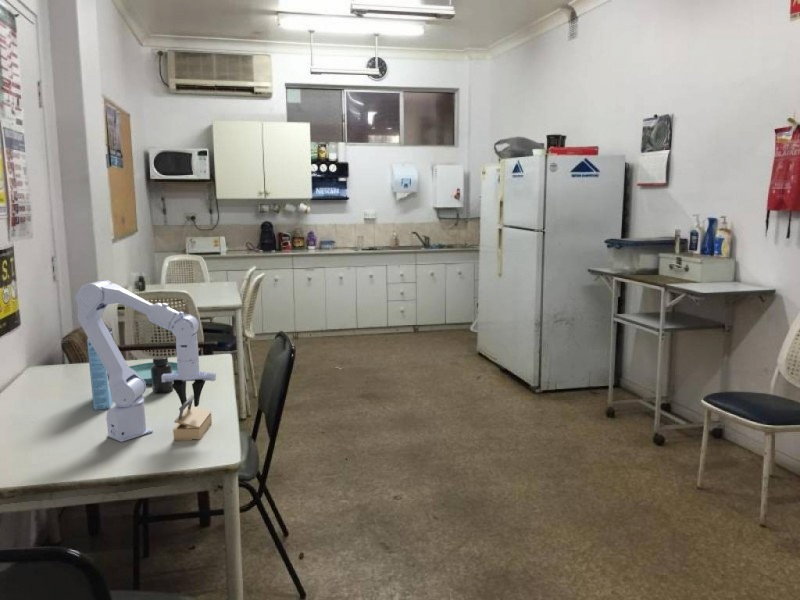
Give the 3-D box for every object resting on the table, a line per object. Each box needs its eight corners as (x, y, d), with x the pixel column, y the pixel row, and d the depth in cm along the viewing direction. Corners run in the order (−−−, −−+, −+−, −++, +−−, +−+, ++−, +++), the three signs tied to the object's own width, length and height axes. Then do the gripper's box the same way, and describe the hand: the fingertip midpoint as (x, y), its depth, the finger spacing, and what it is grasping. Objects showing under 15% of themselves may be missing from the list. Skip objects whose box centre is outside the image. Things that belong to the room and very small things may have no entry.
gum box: (109, 408, 193) (103, 338, 190) (92, 410, 192) (85, 339, 188) (118, 391, 211) (113, 327, 208) (102, 393, 210) (96, 328, 207)
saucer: (134, 369, 241) (133, 361, 241) (193, 369, 240) (193, 361, 240) (101, 387, 217) (101, 378, 217) (167, 387, 216) (167, 378, 216)
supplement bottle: (166, 387, 216) (164, 354, 214) (177, 390, 212) (174, 357, 210) (148, 391, 211) (146, 358, 209) (158, 395, 207) (156, 361, 205)
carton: (173, 440, 166) (173, 429, 165) (187, 424, 178) (187, 414, 178) (199, 439, 166) (199, 429, 166) (211, 423, 179) (211, 413, 178)
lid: (174, 422, 165) (177, 407, 164) (188, 407, 178) (191, 393, 177) (198, 428, 166) (202, 413, 165) (210, 413, 178) (214, 399, 178)
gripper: (217, 354, 173) (220, 400, 175) (166, 355, 173) (169, 401, 175) (211, 361, 166) (214, 408, 168) (157, 362, 166) (160, 409, 168)
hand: (190, 405), depth 171 cm, fingers open, 3 cm apart
